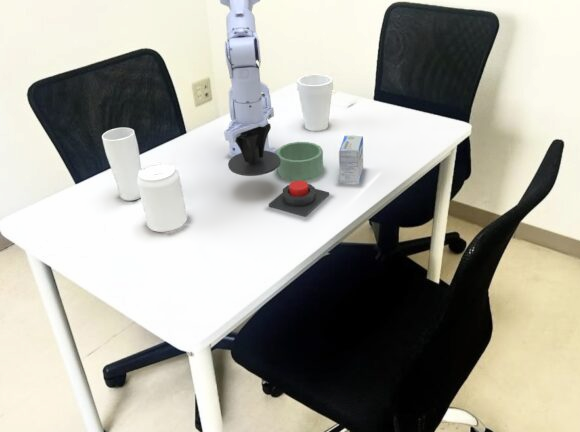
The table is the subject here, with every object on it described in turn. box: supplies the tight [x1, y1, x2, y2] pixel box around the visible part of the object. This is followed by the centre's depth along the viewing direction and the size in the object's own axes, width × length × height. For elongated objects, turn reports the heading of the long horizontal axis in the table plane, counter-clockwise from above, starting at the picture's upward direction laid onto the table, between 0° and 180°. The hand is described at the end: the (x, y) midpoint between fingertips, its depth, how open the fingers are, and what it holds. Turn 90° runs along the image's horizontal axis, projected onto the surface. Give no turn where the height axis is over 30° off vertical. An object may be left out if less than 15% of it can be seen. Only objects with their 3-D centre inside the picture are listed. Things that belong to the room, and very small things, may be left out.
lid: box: [227, 145, 281, 177], centre depth 118 cm, size 11×11×4 cm
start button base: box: [268, 183, 330, 218], centre depth 117 cm, size 9×10×3 cm
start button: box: [288, 181, 309, 196], centre depth 116 cm, size 4×4×2 cm
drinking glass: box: [101, 127, 142, 202], centre depth 120 cm, size 7×7×15 cm
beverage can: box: [137, 162, 188, 233], centre depth 111 cm, size 8×8×12 cm
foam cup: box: [296, 73, 334, 132], centre depth 149 cm, size 10×9×13 cm
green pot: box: [275, 141, 324, 182], centre depth 129 cm, size 10×10×5 cm
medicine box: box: [338, 135, 364, 185], centre depth 124 cm, size 8×4×9 cm, turn 168°
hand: (253, 159), depth 119 cm, fingers closed on lid, 2 cm apart
